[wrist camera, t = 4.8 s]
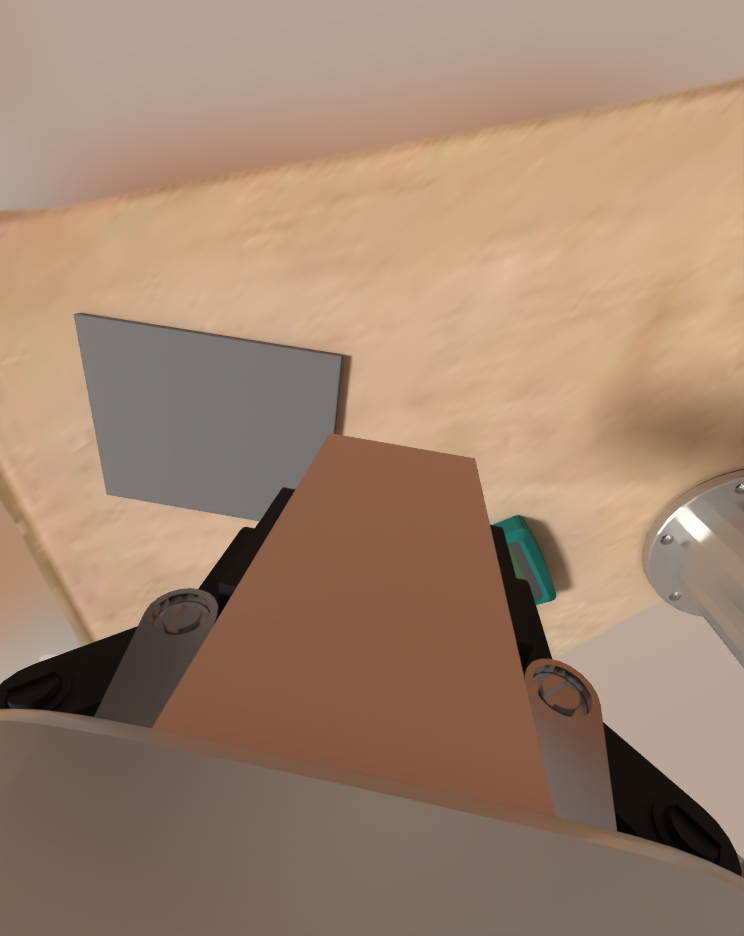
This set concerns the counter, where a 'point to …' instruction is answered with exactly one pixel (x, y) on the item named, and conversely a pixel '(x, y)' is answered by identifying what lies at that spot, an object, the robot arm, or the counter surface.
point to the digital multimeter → (528, 559)
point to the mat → (204, 414)
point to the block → (374, 634)
